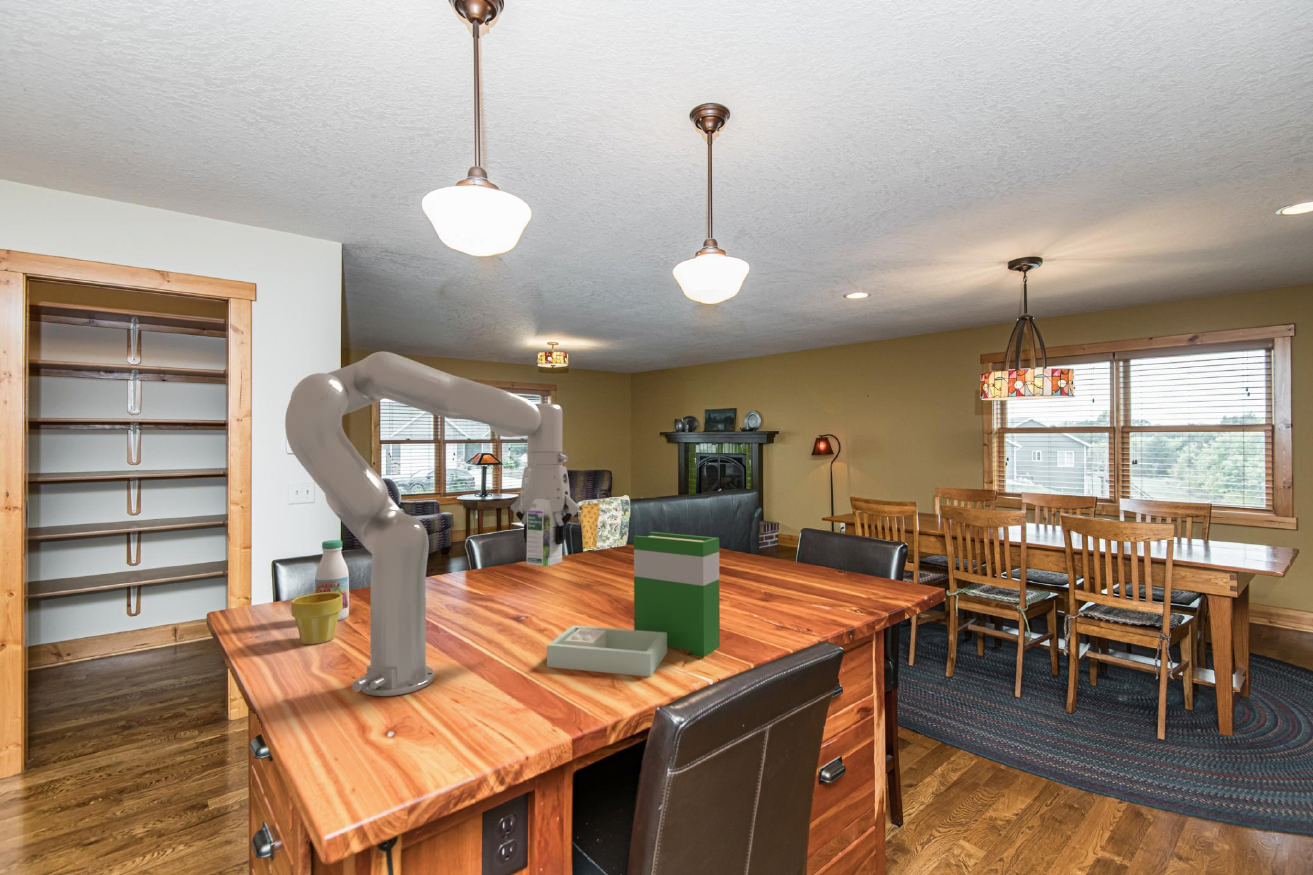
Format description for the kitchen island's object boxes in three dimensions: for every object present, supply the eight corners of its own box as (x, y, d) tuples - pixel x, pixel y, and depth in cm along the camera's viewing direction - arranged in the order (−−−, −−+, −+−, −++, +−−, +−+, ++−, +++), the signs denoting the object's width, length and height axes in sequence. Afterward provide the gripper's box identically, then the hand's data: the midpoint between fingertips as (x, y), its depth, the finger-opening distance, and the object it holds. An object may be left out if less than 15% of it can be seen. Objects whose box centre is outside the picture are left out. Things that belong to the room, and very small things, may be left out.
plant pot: (279, 645, 133) (279, 601, 133) (318, 631, 143) (318, 590, 143) (315, 649, 130) (316, 604, 130) (353, 635, 140) (353, 593, 140)
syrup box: (525, 565, 127) (525, 497, 128) (542, 560, 133) (542, 495, 133) (546, 567, 125) (546, 498, 125) (563, 562, 130) (563, 496, 130)
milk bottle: (316, 616, 155) (316, 540, 155) (349, 612, 158) (349, 538, 159) (313, 624, 148) (313, 544, 148) (348, 620, 151) (348, 542, 152)
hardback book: (634, 643, 133) (633, 536, 133) (652, 634, 139) (651, 531, 140) (703, 658, 124) (703, 542, 124) (719, 647, 130) (719, 537, 130)
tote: (650, 680, 112) (650, 654, 112) (546, 670, 117) (546, 645, 117) (667, 656, 124) (666, 632, 124) (572, 648, 130) (572, 625, 130)
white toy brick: (592, 665, 117) (592, 639, 117) (564, 662, 119) (564, 636, 119) (606, 651, 125) (605, 627, 125) (579, 649, 126) (579, 625, 127)
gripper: (588, 460, 130) (588, 541, 130) (516, 459, 135) (516, 538, 134) (575, 461, 123) (575, 547, 123) (500, 460, 127) (499, 544, 127)
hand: (544, 542), depth 129 cm, fingers closed on syrup box, 6 cm apart
